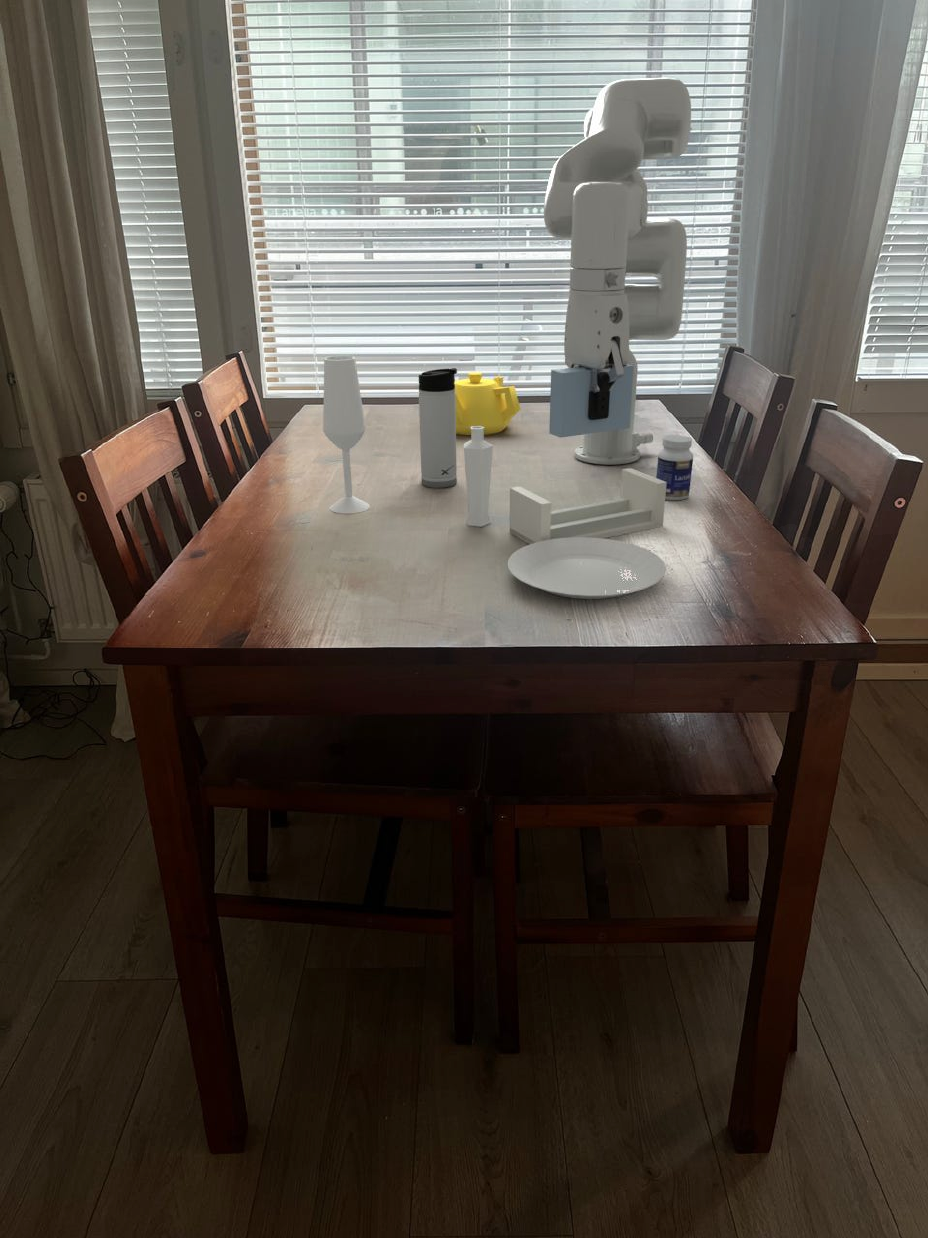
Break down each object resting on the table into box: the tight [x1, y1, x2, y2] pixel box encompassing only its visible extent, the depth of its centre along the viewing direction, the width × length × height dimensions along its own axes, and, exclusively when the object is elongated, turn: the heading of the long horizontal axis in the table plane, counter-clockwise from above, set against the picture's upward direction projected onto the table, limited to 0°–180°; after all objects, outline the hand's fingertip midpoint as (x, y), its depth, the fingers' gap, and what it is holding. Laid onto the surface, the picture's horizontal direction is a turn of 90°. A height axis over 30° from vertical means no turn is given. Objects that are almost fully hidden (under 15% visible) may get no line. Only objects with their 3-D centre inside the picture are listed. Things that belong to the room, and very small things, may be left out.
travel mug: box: [418, 367, 458, 489], centre depth 158 cm, size 6×7×20 cm
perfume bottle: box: [463, 426, 494, 528], centre depth 140 cm, size 5×4×15 cm
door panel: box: [548, 364, 634, 438], centre depth 131 cm, size 12×3×9 cm, turn 117°
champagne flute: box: [322, 355, 371, 514], centre depth 145 cm, size 7×7×24 cm
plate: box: [507, 537, 667, 600], centre depth 121 cm, size 21×21×2 cm
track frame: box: [509, 467, 667, 545], centre depth 138 cm, size 22×9×7 cm, turn 117°
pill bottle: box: [655, 434, 694, 501], centre depth 152 cm, size 6×6×10 cm
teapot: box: [454, 371, 521, 436], centre depth 197 cm, size 17×17×12 cm
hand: (590, 415), depth 132 cm, fingers closed on door panel, 3 cm apart
